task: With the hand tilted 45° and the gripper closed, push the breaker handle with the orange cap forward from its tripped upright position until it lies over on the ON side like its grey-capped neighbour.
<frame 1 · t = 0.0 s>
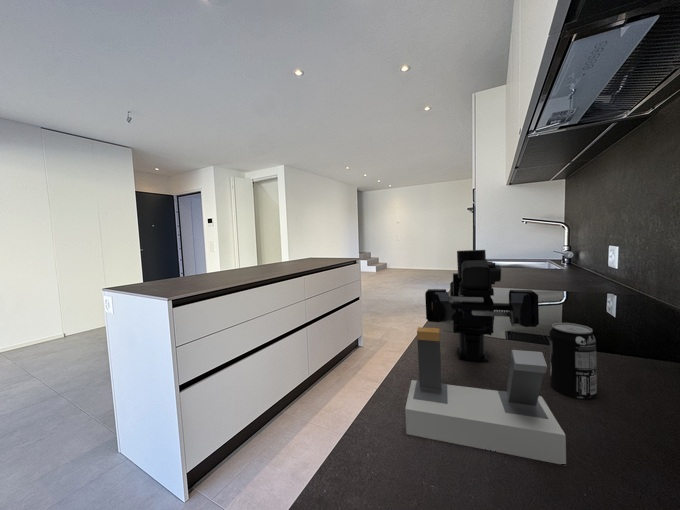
hand: (483, 319, 43), 17 cm above the counter, tool horizontal, fingers open, 9 cm apart
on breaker: (524, 379, 39), point 9 cm above the counter, hinge at 30.0°
tripped breaker: (429, 358, 46), point 10 cm above the counter, hinge at 0.0°
beverage can: (572, 391, 51), on the counter
grey mounting base: (475, 427, 42), on the counter
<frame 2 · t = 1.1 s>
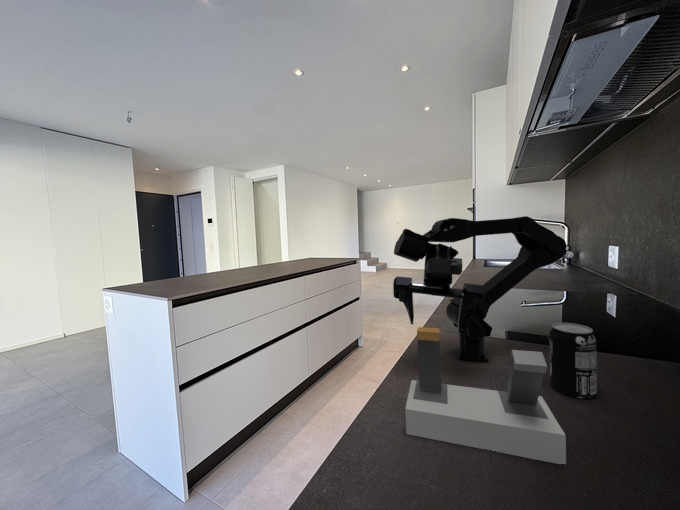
hand: (435, 327, 55), 12 cm above the counter, tool tilted 45°, fingers open, 9 cm apart
nothing on the counter moved.
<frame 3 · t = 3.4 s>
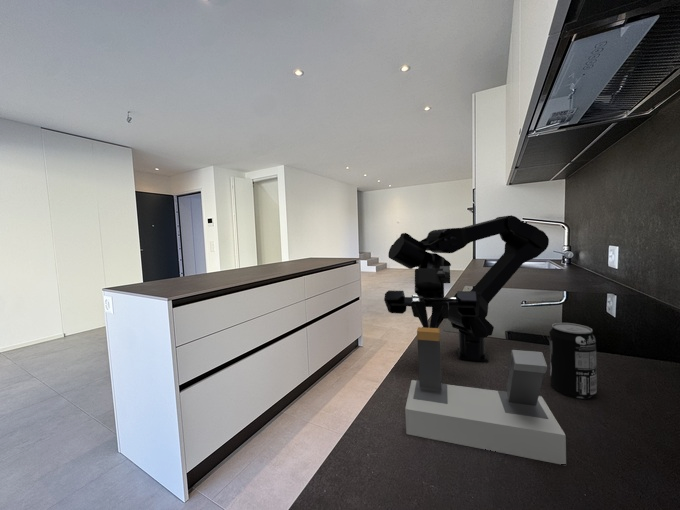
hand: (429, 340, 53), 10 cm above the counter, tool tilted 45°, fingers closed
nothing on the counter moved.
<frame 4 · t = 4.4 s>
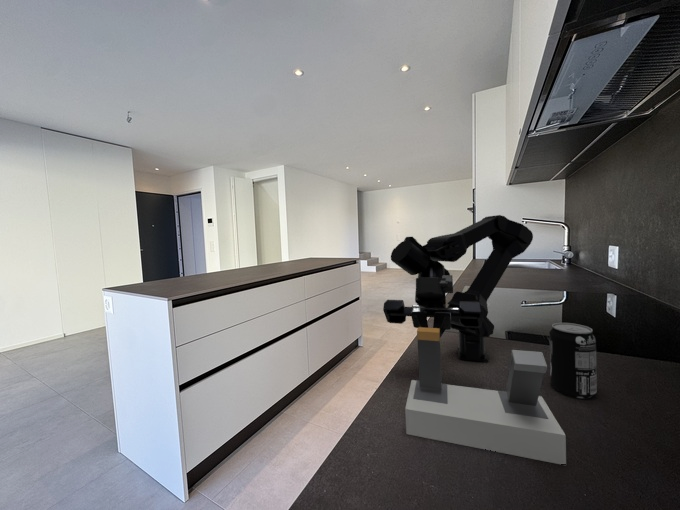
hand: (430, 353, 50), 9 cm above the counter, tool tilted 45°, fingers closed
nothing on the counter moved.
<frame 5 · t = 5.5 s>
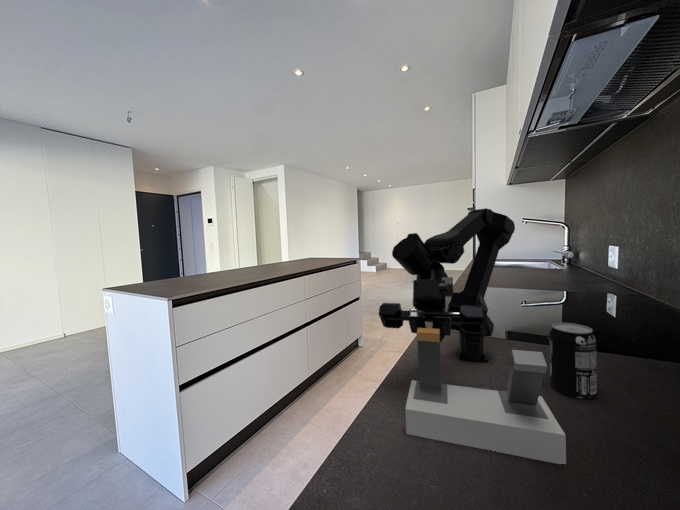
hand: (429, 361, 47), 9 cm above the counter, tool tilted 45°, fingers closed, pressing on tripped breaker
tripped breaker: (429, 358, 46), point 10 cm above the counter, hinge at 2.2°, touching gripper
everything else where it was.
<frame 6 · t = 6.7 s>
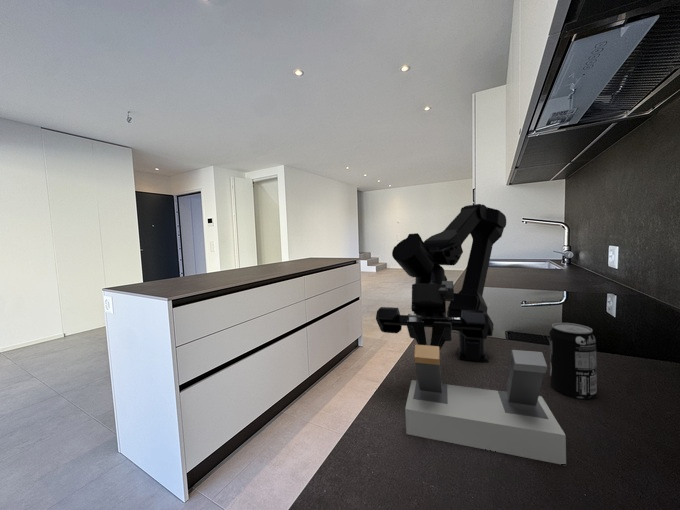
hand: (428, 369, 44), 8 cm above the counter, tool tilted 45°, fingers closed, pressing on tripped breaker
tripped breaker: (428, 370, 43), point 9 cm above the counter, hinge at 32.6°, touching gripper
everything else where it was.
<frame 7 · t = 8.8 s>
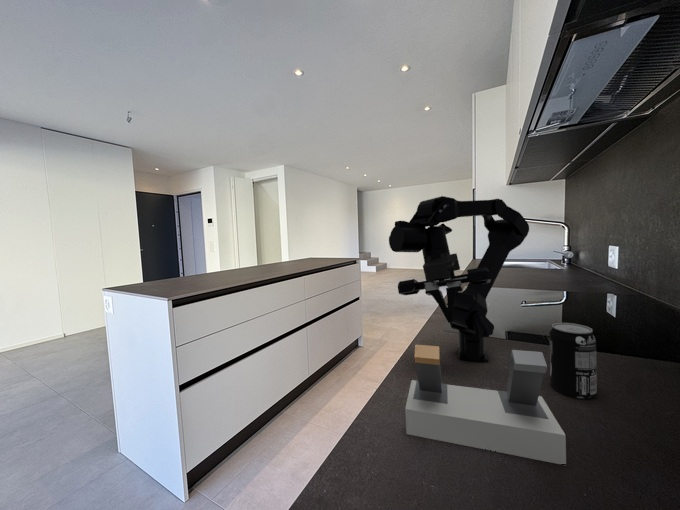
hand: (450, 322, 57), 12 cm above the counter, tool tilted 20°, fingers closed
tripped breaker: (428, 370, 43), point 9 cm above the counter, hinge at 32.6°
everything else where it was.
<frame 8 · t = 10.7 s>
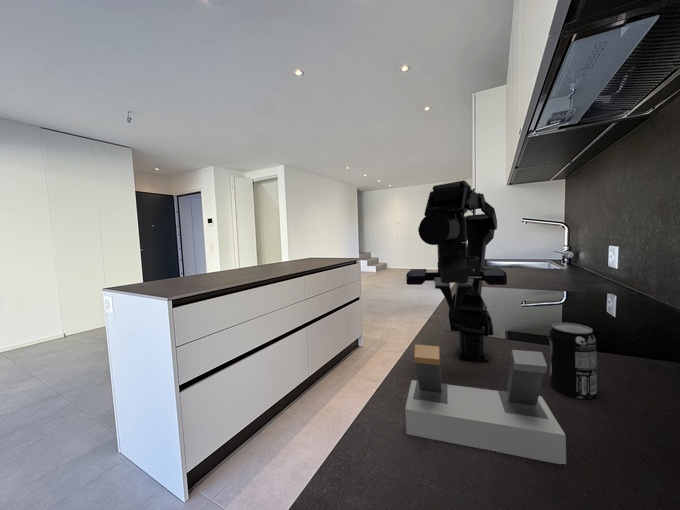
hand: (454, 316, 57), 13 cm above the counter, tool pointing down, fingers closed
nothing on the counter moved.
at the end: tripped breaker at +33° (first picture: +0°); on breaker at +30° (first picture: +30°); beverage can moved 0.2 cm from its start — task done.
